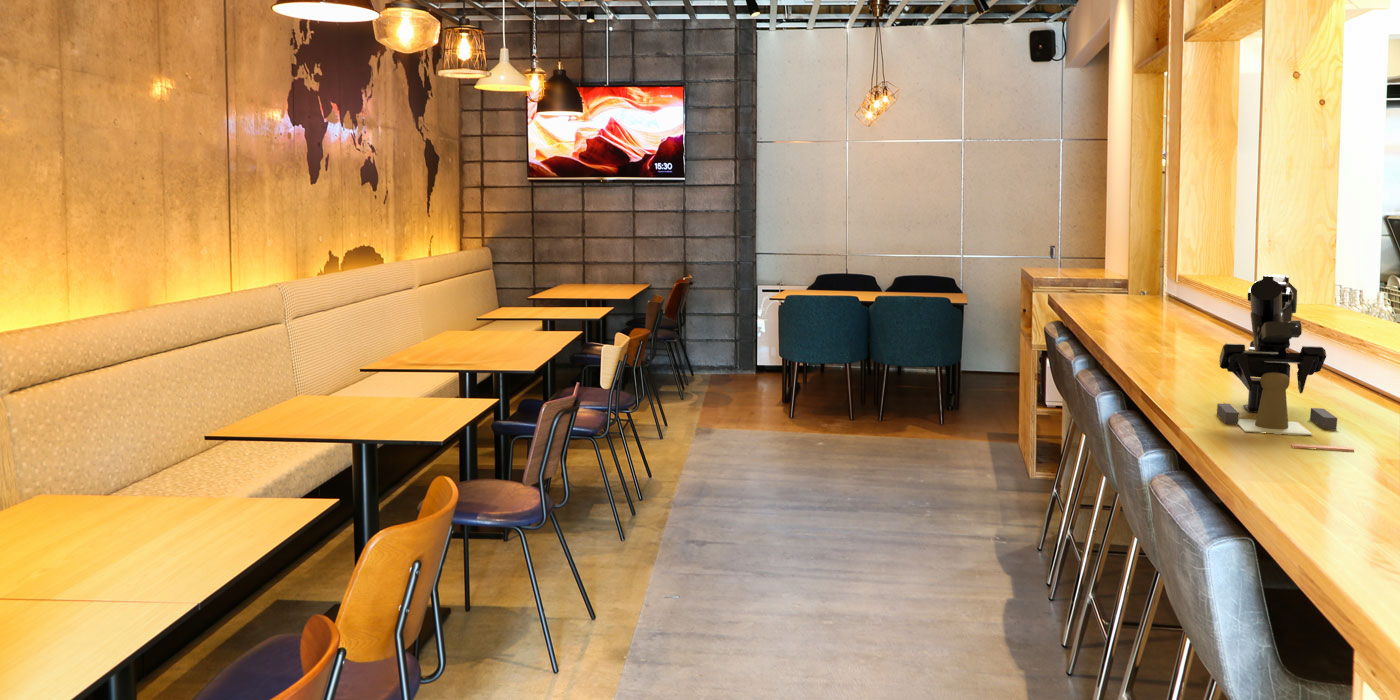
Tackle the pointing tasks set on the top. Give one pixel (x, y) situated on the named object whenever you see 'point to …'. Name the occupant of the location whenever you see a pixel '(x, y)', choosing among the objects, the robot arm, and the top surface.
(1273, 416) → the cork
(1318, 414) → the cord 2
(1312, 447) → the off strip
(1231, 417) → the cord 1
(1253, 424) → the pad
